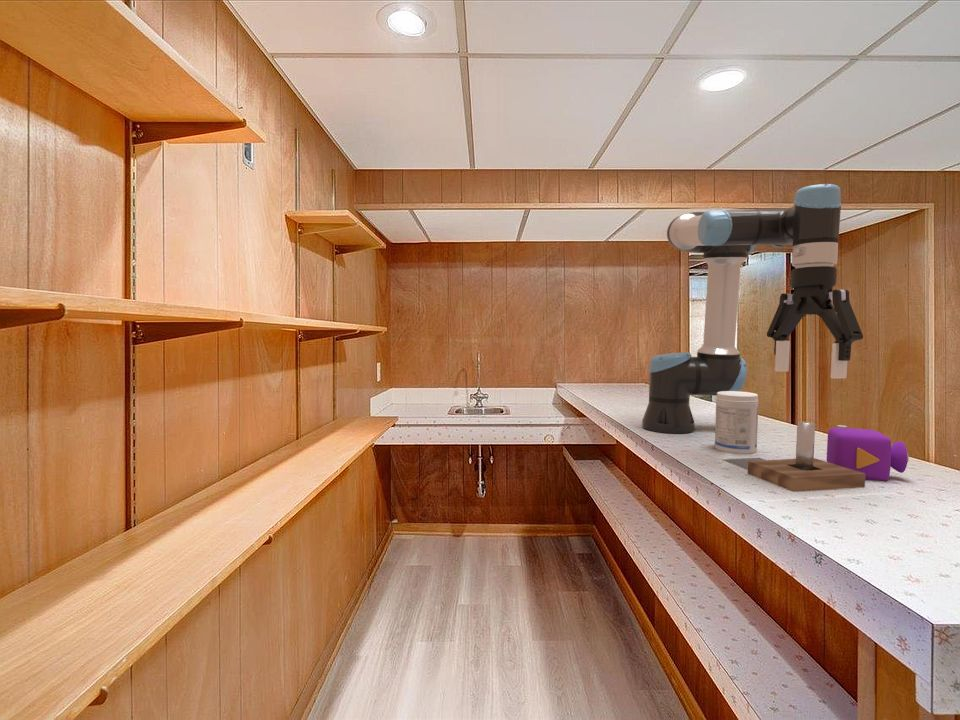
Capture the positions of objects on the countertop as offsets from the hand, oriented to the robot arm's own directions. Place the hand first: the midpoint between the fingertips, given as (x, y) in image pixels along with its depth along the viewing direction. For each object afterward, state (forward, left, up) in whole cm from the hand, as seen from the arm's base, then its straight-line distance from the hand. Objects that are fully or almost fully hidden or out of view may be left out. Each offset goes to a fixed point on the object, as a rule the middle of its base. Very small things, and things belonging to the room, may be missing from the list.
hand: (808, 374), depth 101 cm
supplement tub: (-25, +4, -22) cm, 34 cm away
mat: (-11, -1, -22) cm, 24 cm away
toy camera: (-1, +16, -22) cm, 27 cm away
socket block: (0, 0, -22) cm, 22 cm away
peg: (0, 0, -22) cm, 22 cm away
